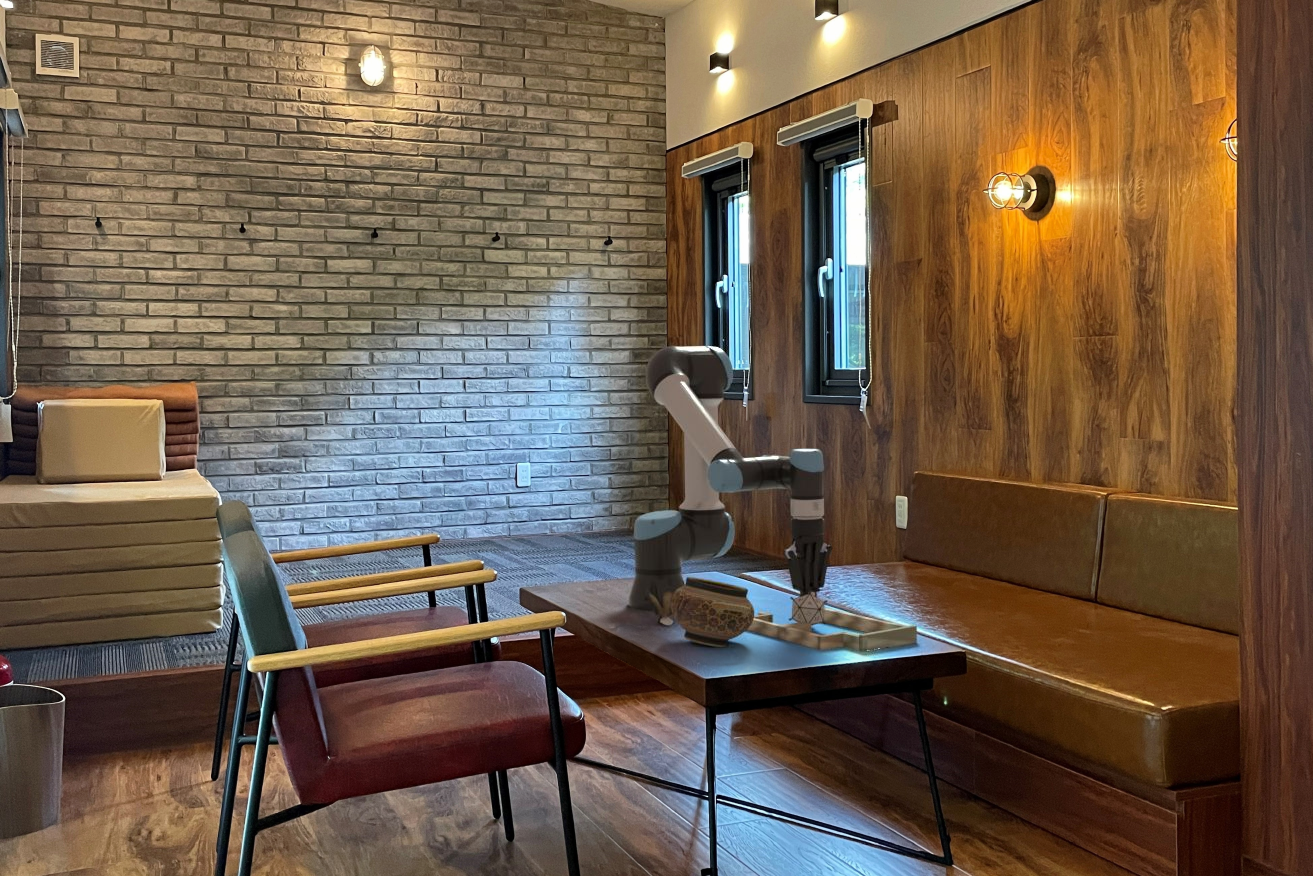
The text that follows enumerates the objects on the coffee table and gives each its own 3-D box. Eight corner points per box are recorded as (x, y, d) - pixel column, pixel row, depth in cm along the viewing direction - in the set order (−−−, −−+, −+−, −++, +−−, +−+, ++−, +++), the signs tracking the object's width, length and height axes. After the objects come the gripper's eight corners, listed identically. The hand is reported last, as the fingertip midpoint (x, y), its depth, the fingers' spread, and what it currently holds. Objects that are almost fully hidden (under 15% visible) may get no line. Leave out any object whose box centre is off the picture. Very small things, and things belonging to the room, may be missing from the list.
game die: (793, 640, 268) (797, 598, 266) (780, 623, 276) (785, 582, 273) (831, 638, 270) (836, 597, 268) (817, 622, 278) (822, 581, 276)
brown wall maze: (737, 628, 277) (736, 613, 277) (809, 616, 289) (809, 602, 289) (841, 656, 248) (840, 639, 248) (917, 642, 260) (916, 626, 259)
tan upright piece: (664, 622, 286) (663, 584, 286) (685, 626, 281) (685, 587, 281) (640, 627, 281) (639, 589, 280) (662, 631, 276) (661, 592, 275)
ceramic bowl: (651, 640, 267) (650, 572, 267) (723, 631, 275) (722, 565, 274) (700, 663, 245) (699, 589, 244) (777, 653, 252) (776, 581, 251)
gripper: (795, 521, 270) (797, 626, 271) (840, 516, 277) (841, 618, 278) (774, 518, 276) (776, 621, 277) (818, 513, 283) (819, 613, 284)
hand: (808, 619), depth 278 cm, fingers closed
